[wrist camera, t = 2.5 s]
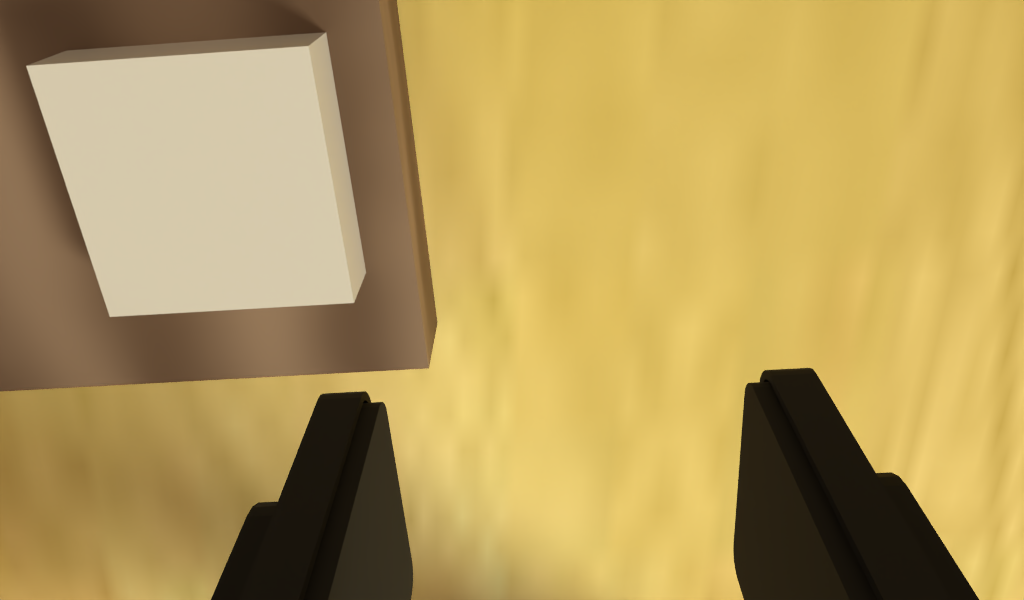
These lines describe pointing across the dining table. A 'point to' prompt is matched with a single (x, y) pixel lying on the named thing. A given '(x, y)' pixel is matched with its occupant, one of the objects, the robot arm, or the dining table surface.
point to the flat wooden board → (211, 334)
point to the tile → (206, 172)
